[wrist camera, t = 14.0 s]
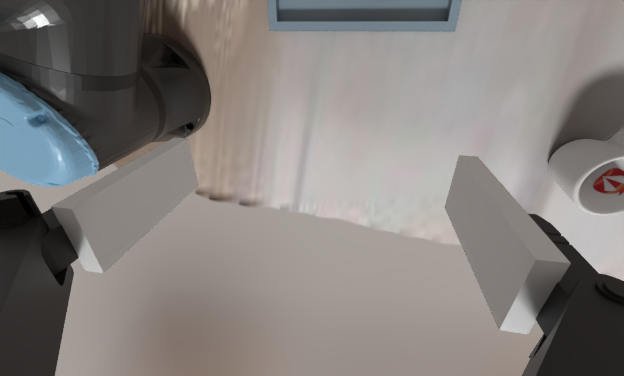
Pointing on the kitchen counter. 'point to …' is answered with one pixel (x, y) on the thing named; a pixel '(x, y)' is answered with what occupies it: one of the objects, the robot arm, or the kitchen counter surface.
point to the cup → (592, 173)
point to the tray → (363, 15)
